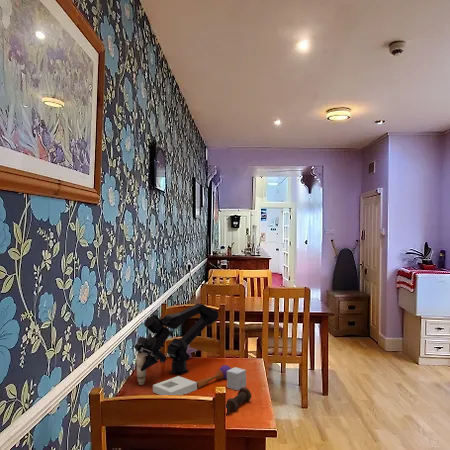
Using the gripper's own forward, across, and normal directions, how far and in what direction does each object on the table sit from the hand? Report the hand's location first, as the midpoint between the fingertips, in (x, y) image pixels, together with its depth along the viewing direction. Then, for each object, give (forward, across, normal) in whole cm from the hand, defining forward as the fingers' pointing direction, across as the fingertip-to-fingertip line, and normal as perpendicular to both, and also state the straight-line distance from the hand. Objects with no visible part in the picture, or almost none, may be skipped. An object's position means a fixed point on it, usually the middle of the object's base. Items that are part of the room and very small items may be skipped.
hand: (138, 369), depth 179 cm
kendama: (-13, +21, +23) cm, 34 cm away
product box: (-15, +33, +25) cm, 44 cm away
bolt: (-5, +46, +15) cm, 49 cm away
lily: (-20, -13, +30) cm, 39 cm away
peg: (+4, 0, +6) cm, 7 cm away
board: (0, +17, +10) cm, 19 cm away
